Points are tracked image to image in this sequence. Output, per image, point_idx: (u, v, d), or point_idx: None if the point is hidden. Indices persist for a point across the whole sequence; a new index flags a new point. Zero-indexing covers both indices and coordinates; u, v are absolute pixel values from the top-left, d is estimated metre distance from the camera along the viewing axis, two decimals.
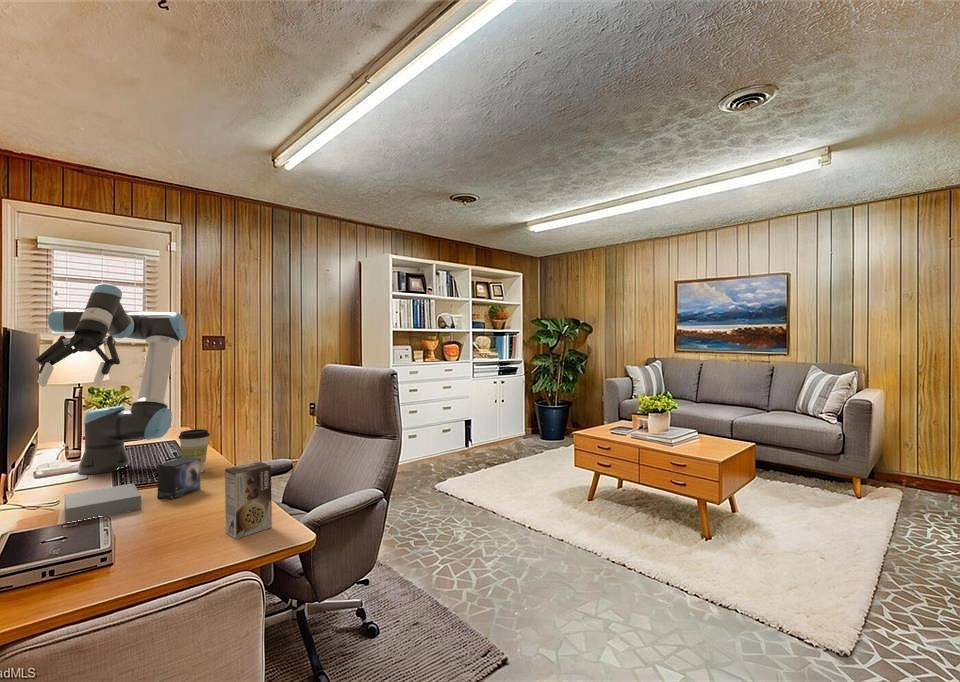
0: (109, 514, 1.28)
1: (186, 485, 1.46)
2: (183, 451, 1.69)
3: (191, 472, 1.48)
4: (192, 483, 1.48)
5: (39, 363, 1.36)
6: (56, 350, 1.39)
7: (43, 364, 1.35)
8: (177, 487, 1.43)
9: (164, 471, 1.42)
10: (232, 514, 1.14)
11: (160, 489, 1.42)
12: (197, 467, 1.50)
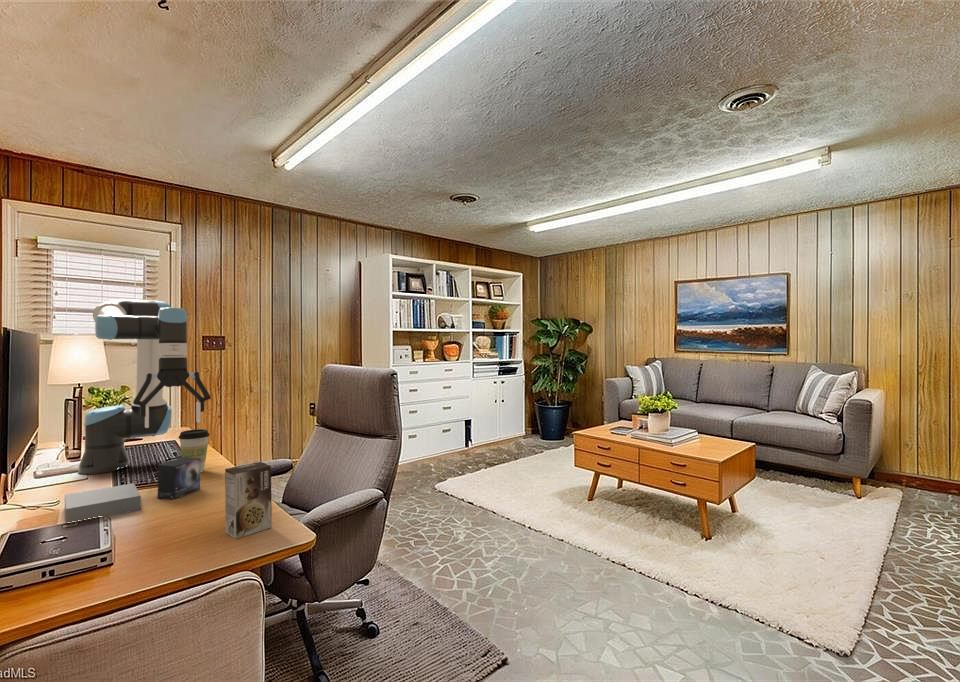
0: (109, 514, 1.28)
1: (186, 485, 1.46)
2: (183, 451, 1.69)
3: (191, 472, 1.48)
4: (192, 483, 1.48)
5: (135, 404, 1.40)
6: (146, 388, 1.42)
7: (142, 407, 1.40)
8: (177, 487, 1.43)
9: (164, 471, 1.42)
10: (232, 514, 1.14)
11: (160, 489, 1.42)
12: (197, 467, 1.50)
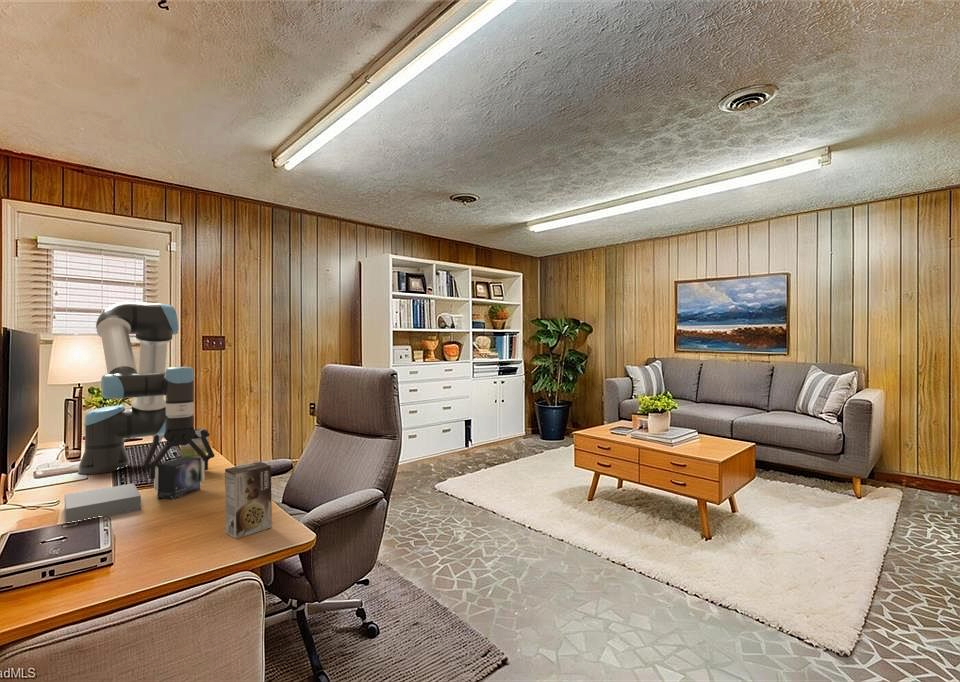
0: (109, 514, 1.28)
1: (186, 484, 1.46)
2: (183, 451, 1.69)
3: (191, 472, 1.47)
4: (192, 483, 1.48)
5: (144, 466, 1.41)
6: (154, 450, 1.43)
7: (151, 469, 1.42)
8: (177, 487, 1.43)
9: (164, 471, 1.42)
10: (232, 514, 1.14)
11: (160, 489, 1.42)
12: (197, 467, 1.50)
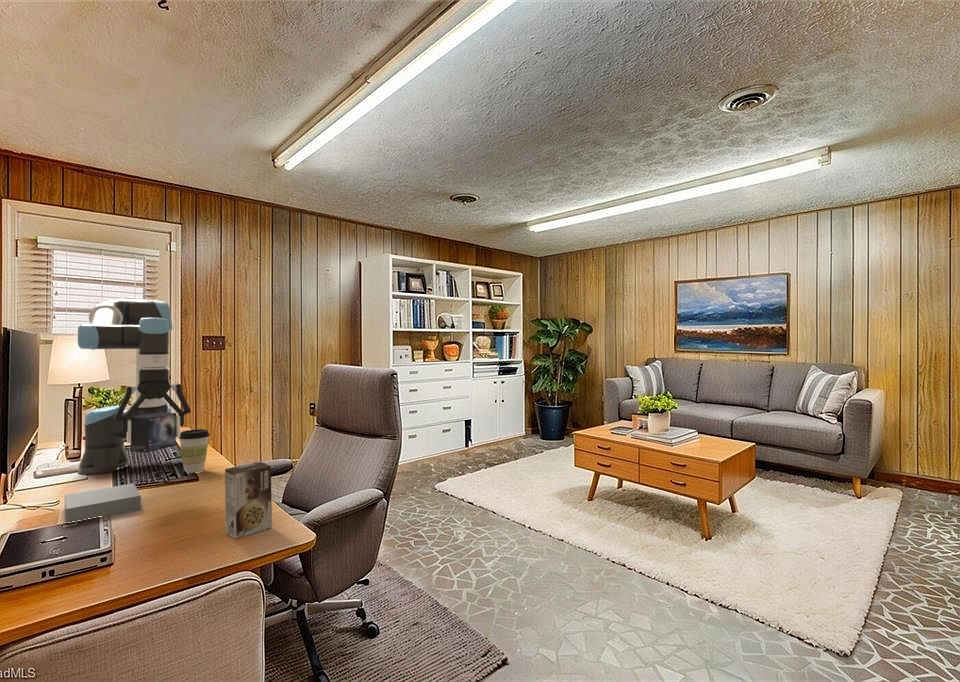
0: (109, 514, 1.28)
1: (161, 439, 1.41)
2: (183, 451, 1.69)
3: (166, 427, 1.43)
4: (167, 438, 1.44)
5: (116, 419, 1.36)
6: None
7: (124, 422, 1.37)
8: (151, 440, 1.38)
9: (137, 424, 1.38)
10: (232, 514, 1.14)
11: (133, 442, 1.38)
12: (172, 422, 1.46)
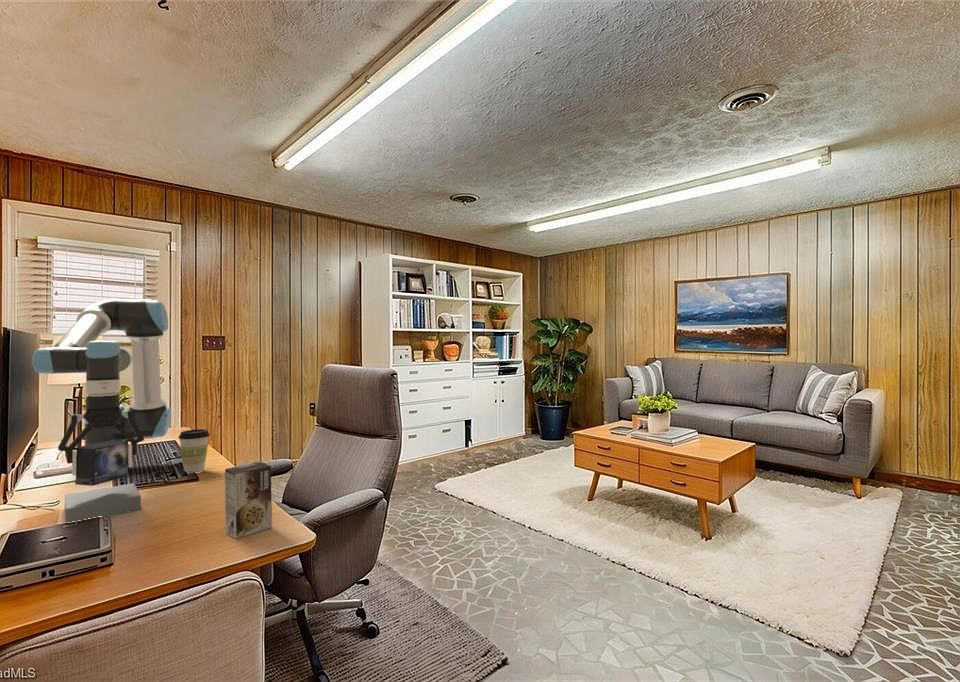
0: (109, 514, 1.28)
1: (109, 470, 1.32)
2: (183, 451, 1.69)
3: (115, 457, 1.34)
4: (117, 469, 1.35)
5: None
6: (72, 431, 1.29)
7: (68, 453, 1.28)
8: (98, 472, 1.29)
9: (82, 455, 1.29)
10: (232, 514, 1.14)
11: (78, 474, 1.29)
12: (123, 451, 1.37)
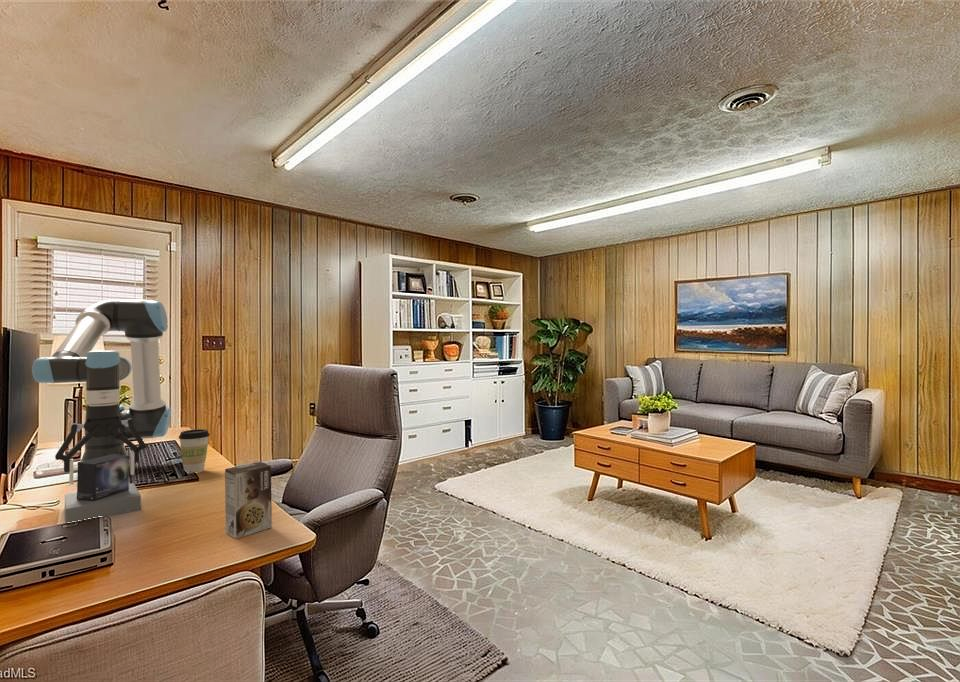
0: (109, 514, 1.28)
1: (110, 485, 1.33)
2: (183, 451, 1.69)
3: (116, 471, 1.34)
4: (118, 483, 1.35)
5: (57, 458, 1.27)
6: (70, 440, 1.29)
7: (65, 461, 1.28)
8: (99, 487, 1.29)
9: (84, 470, 1.29)
10: (232, 514, 1.14)
11: (79, 489, 1.29)
12: (124, 465, 1.37)
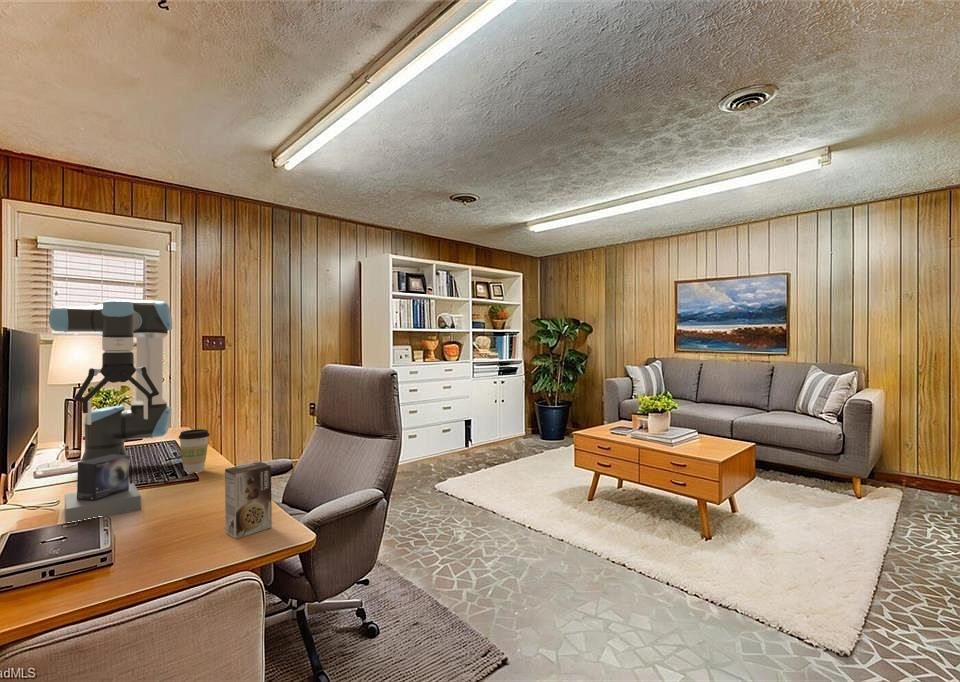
0: (109, 514, 1.28)
1: (110, 485, 1.33)
2: (183, 451, 1.69)
3: (116, 471, 1.34)
4: (118, 483, 1.35)
5: None
6: (88, 384, 1.37)
7: (84, 403, 1.36)
8: (99, 487, 1.29)
9: (84, 470, 1.29)
10: (232, 514, 1.14)
11: (79, 489, 1.29)
12: (124, 465, 1.37)
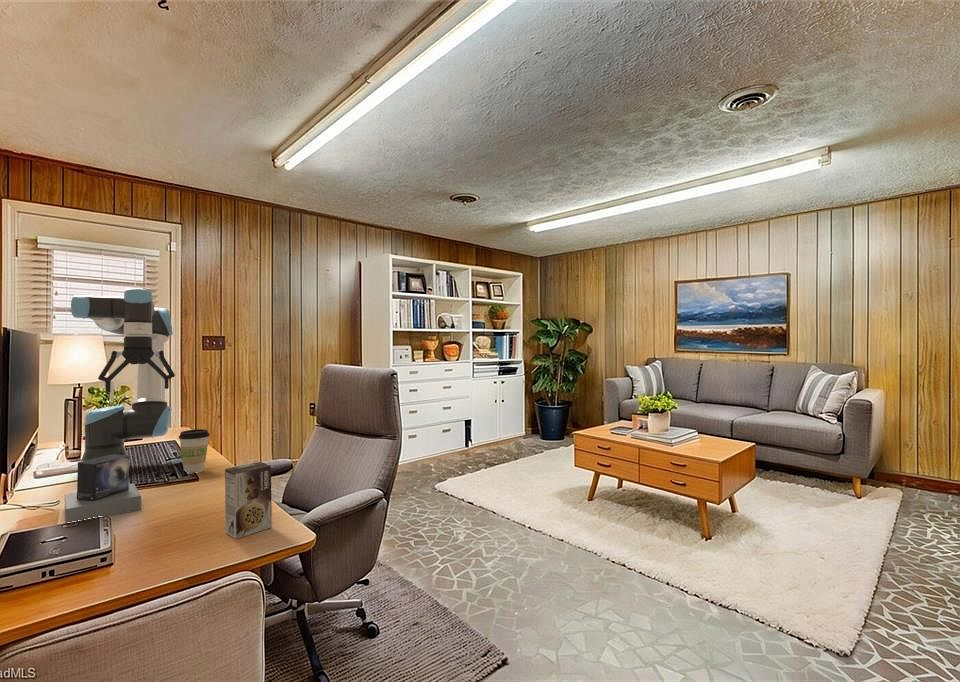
0: (109, 514, 1.28)
1: (110, 485, 1.33)
2: (183, 451, 1.69)
3: (116, 471, 1.34)
4: (118, 483, 1.35)
5: None
6: None
7: (107, 383, 1.47)
8: (99, 487, 1.29)
9: (84, 470, 1.29)
10: (232, 514, 1.14)
11: (79, 489, 1.29)
12: (124, 465, 1.37)
